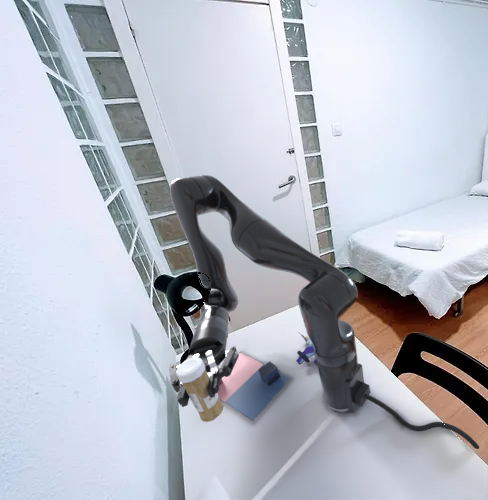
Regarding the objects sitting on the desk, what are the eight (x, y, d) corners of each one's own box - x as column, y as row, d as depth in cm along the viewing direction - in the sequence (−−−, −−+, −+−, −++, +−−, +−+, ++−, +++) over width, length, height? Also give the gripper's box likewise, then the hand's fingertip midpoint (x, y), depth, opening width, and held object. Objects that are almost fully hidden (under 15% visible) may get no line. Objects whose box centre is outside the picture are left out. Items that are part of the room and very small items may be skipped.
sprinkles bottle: (225, 413, 57) (203, 367, 51) (201, 427, 55) (176, 380, 49) (221, 397, 60) (200, 352, 55) (199, 410, 58) (174, 364, 53)
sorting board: (291, 379, 74) (291, 378, 74) (253, 422, 64) (252, 421, 64) (240, 353, 85) (240, 352, 84) (201, 387, 75) (200, 385, 75)
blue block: (280, 376, 74) (277, 367, 73) (268, 386, 72) (265, 376, 70) (272, 370, 77) (269, 360, 75) (261, 379, 74) (258, 369, 73)
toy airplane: (297, 336, 88) (295, 328, 87) (340, 336, 86) (339, 327, 85) (285, 371, 77) (282, 361, 75) (335, 371, 75) (333, 361, 73)
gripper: (171, 335, 64) (146, 399, 49) (236, 318, 67) (230, 372, 52) (184, 359, 67) (163, 425, 52) (245, 341, 70) (242, 399, 55)
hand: (197, 398), depth 52 cm, fingers closed on sprinkles bottle, 4 cm apart
